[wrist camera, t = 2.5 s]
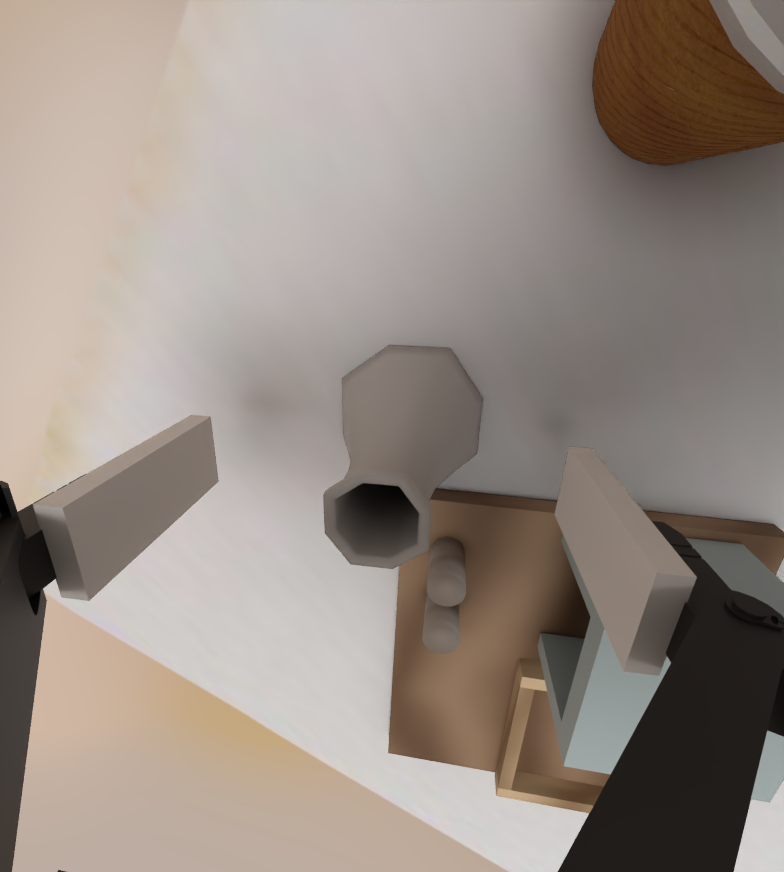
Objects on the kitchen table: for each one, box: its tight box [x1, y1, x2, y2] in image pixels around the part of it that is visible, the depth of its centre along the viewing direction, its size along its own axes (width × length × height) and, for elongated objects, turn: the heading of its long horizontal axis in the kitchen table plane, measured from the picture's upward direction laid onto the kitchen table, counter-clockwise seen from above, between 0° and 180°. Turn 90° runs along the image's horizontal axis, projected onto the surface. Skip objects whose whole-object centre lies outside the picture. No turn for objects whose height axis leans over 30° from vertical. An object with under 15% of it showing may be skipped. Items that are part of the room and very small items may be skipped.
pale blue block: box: [537, 535, 784, 802], centre depth 19 cm, size 8×8×6 cm
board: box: [388, 489, 784, 813], centre depth 23 cm, size 18×20×4 cm
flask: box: [323, 345, 483, 569], centre depth 17 cm, size 7×7×10 cm
